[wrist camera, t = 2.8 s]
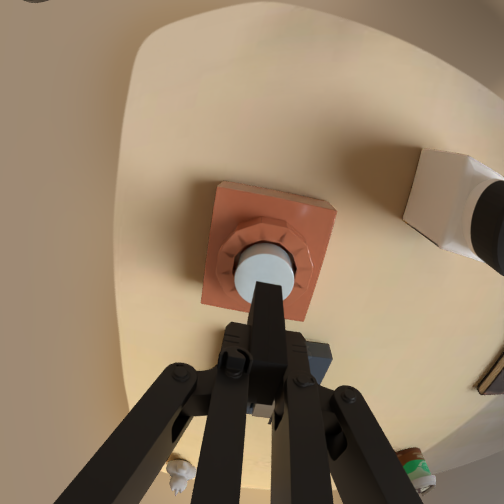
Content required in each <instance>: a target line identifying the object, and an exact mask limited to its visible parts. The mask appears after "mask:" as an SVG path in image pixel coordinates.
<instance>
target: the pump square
mask: <svg viewBox="0 0 504 504" xmlns="http://www.w3.org/2000/svg"><path fill="white" fill-rule="evenodd" d="M274 408H275V400H274V402H273V405H272V406H271V405H263V404H255V403H253V407H252V416H256V417H264V418H270V417H271V415H272V412H273V410H274Z"/></svg>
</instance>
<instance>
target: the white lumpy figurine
mask: <svg viewBox="0 0 504 504" xmlns="http://www.w3.org/2000/svg"><path fill="white" fill-rule="evenodd" d="M166 470H167V472H168V473H169V474H170V476H171V479H170V486H171V490H172V491H173V490H175V496H176V495H177V493H178V491H180V493H181V492H182V491H183V490H184V489H185V488H186V486H187V481H188V480H189V479H193V478H194V477H195V475H196V468H195V467H194V466H192V464H190V463H189V462H187V461H183V460H174V461H173V460H171V461H169V462H168V464H167V467H166Z"/></svg>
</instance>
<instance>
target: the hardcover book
mask: <svg viewBox="0 0 504 504" xmlns="http://www.w3.org/2000/svg"><path fill="white" fill-rule="evenodd" d="M477 390H478V392H479V394H480V395H496V394H504V352H503V354H502V355H501V356H500V358H499V359H498V361H497V362H496V363H495V365H494V366H493V367H492V369H491V370H490V371H489V373H488V374H487V375H486V376H485V378H484V379H483V380H482V381H481V383H480V384H479V385H478V388H477Z"/></svg>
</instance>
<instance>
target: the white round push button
mask: <svg viewBox="0 0 504 504" xmlns="http://www.w3.org/2000/svg"><path fill="white" fill-rule="evenodd" d="M256 281H259V282H264V283H270V284H275V285H281V286H282V295H283V300H284V299H286V298H287V297H288V296H289V294H290V293H291V291H292V289H293V286H294V274H293V268H292V263H291V260H290V257H289V256H288V254H287V253H286V252H285V251H284V250H283V249H282V248H280V247H279V246H277V245H274V244H271V243H258V244H255V245H252V246H250V247H249V248H247V249H246V250H245V251H244V252H243V253H242V254H241V256H240V257H239V260H238V263H237V267H236V272H235V277H234V283H235V287H236V290H237V292H238V293H239V295H240V296H241V297H242V298H243V299H244V300H246V301H247V302H249V303H251V302H252V298H253V293H254V289H255V284H256Z"/></svg>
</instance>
